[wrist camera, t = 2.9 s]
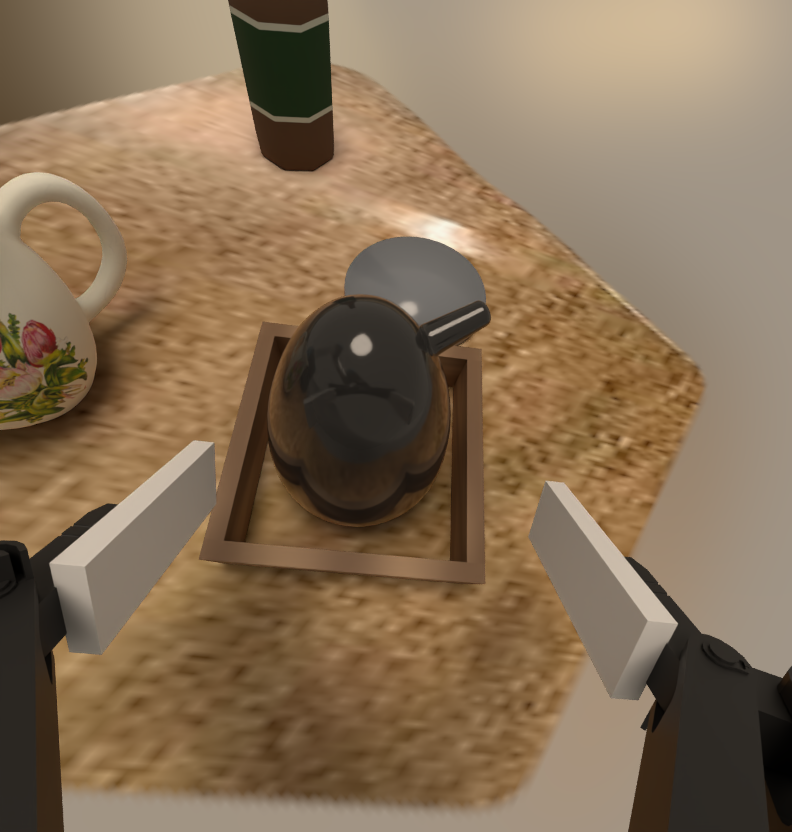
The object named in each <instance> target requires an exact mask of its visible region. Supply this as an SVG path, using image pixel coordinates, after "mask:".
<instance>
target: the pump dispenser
mask: <svg viewBox="0 0 792 832" xmlns="http://www.w3.org/2000/svg"><path fill="white" fill-rule="evenodd" d="M490 321H491V314H490V311H489V309H488V307H487V305H486V304H485V303H484V302H482V301H480V300H478V301H475V302H473V303H470V304H468V305H466V306H463V307H461V308H459V309H456V310H454V311H452V312H449V313H447V314H445V315H442V316H440V317H438V318H435V319H433V320H431V321H428V322H426V323H423V324H418V323H417V322H416V321H415V320H414V318H413V317H412V316H411V315H410V314H409V313H407V312H406V311H405V310H404V309H403V308H401V307H400V306H398V305H397V304H395V303H394V302H392V301H390V300H388V299H385V298H383V297H379V296H375V295H368V294H355V295H348V296H343V297H340V298H337V299H334V300H332V301H330V302H328V303H326V304H324V305H323V306H321V307H319V308H318V309H317V310H315V311H314V312H313V313H312V314H311V315H309V316H308V317H307V318H306V319H305V320H304V321H303V322H302V323H301V325H300V326H299V327H298V328H297V330H296V331H295V332H294V334H293V335H292V337H291V338H290V340H289V342H288V344H287V345H286V347H285V349H284V352H283V354H282V356H281V358H280V361H279V363H278V366H277V369H276V371H275V375H274V378H273V381H272V385H271V389H270V394H269V400H268V408H267V433H268V441H269V447H270V452H271V457H272V460H273V464H274V467H275V469H276V472H277V474H278V476H279V478H280V480H281V482H282V484H283V485H284V487H285V488H286V490H287V491H288V493H289V494H290V495H291V496H292V497H293V499H294V500H295V501H296V502H297V503H298V504H299V505H301V506H302V507H303V508H304V509H306V510H307V511H308V512H310V513H311V514H313V515H315V516H317V517H319V518H321V519H323V520H325V521H328V522H331V523H334V524H338V525H344V526H354V527H362V526H372V525H377V524H381V523H384V522H387V521H390V520H392V519H395V518H397V517H399V516H401V515H402V514H404V513H406V512H407V511H408V510H410V509H411V508H412V507H414V506H415V505H416V504H417V503H418V502H419V501H420V500H421V499H422V498H423V497H424V496H425V494H426V493H427V492H428V491H429V489H430V488H431V486H432V485H433V483H434V481H435V479H436V478H437V475H438V473H439V471H440V469H441V466H442V463H443V460H444V456H445V452H446V448H447V444H448V439H449V432H450V417H451V413H450V397H449V390H448V384H447V380H446V376H445V373H444V369H443V366H442V364H441V361H440V359H439V357H438V356H439V355H440V354H441V353H443V352H444V351H446V350H448V349H449V348H451V347H453V346H454V345H456V344H458V343H459V342H461V341H463V340H464V339H466V338H467V337H469V336H471V335H472V334H474V333H476V332H477V331H479V330H481V329H482V328H484V327H486V326H487V325H488V324H489V323H490Z"/></svg>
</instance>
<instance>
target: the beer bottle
mask: <svg viewBox="0 0 792 832" xmlns="http://www.w3.org/2000/svg"><path fill="white" fill-rule="evenodd" d="M228 1H229V7H230V11H231V17H232V21H233V26H234V31H235V35H236V40H237V45H238V49H239V54H240V59H241V64H242V68H243V73H244V78H245V82H246V87H247V92H248V96H249V101H250V106H251V110H252V115H253V120H254V124H255V129H256V134H257V137H258V141H259V145H260V149H261V152H262V154H263V155H264V156H265V157H266V158H268V159H269V160H271V161H272V162H274V163H275V164H276V165H278V166H279V167H281V168H282V169H284V170H308V171H313V170H315V169H316V168H318V167H319V166H321V165H322V164H324V163H326V162H327V161H329V160H330V159H332V157H333V152H334V133H333V110H332V86H331V63H330V41H329V40H330V39H329V17H328V2H327V0H228Z"/></svg>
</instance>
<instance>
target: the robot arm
mask: <svg viewBox="0 0 792 832" xmlns="http://www.w3.org/2000/svg"><path fill="white" fill-rule="evenodd" d="M215 505H216V476H215V449H214V443H213V442H204V441H195V440H194V441H193V442H191V443H190V444H189V445H188V446H187V447H186V448H184V449H183V450H182V451H181V452H180V453H178V454H177V455H176V456H175V457H174V458H173V459H171V460H170V461H169V462H168V463H167V464H166V465H164V466H163V467H162V468H161V469H160V470H158V471H157V472H156V473H155V474H154V475H153V476H151V477H150V478H149V479H148V480H147V481H145V482H144V483H143V484H142V485H141V486H140V487H138V488H137V489H136V490H135V491H134V492H133V493H131V494H130V495H129V496H128V497H127V498H125V499H124V500H123V501H122V502H121V503H120V504H105V505H103V506H101V507H99V508H97V509H95V510H93V511H91V512H88V513H87V514H86V515H85V516H83V517H82V518H81V519H80V520H78V521H77V522H76V523H74V526H71V527H69V528H68V529H67V530H66V531H64V532H63V533H62V535H61V536H58V537H57V538H55V539H54V540H53V541H52V542H50V543H49V544H48V545H47V546H45V547H44V548H43V549H42V550H40V551H39V552H38V553H37V554H35V555H34V556H33V557H31V558H30V559H29V555H28V551H27V548H26V546H25V545H24V544H23V543H20V542H18V541H0V832H64V825H63V806H62V787H61V769H60V751H59V733H58V714H57V696H56V678H55V660H54V655H53V651H52V649H53V648H54V647H55V646H56V645H57V644H58V643H59V641H60V640H61V639H62V638H63V637H64V636H65V635H66V639H67V643H68V648H69V652H75V653H87V654H99V655H102V653H103V652H104V651H105V650H106V648H107V647H108V646H109V644H110V643H111V642H112V640H113V639H114V638H115V636H116V635H117V634H118V632H119V631H120V630H121V628H122V627H123V626H124V625H125V623H126V622H127V621H128V619H129V618H130V617H131V615H132V614H133V613H134V611H135V610H136V609H137V607H138V606H139V605H140V603H141V602H142V601H143V600H144V598H145V597H146V596H147V594H148V593H149V592H150V590H151V589H152V588H153V586H154V585H155V584H156V582H157V581H158V580H159V579H160V577H161V576H162V575H163V573H164V572H165V571H166V569H167V568H168V567H169V565H170V564H171V563H172V561H173V560H174V559H175V557H176V556H177V555H178V554H179V552H180V551H181V550H182V548H183V547H184V546H185V544H186V543H187V542H188V540H189V539H190V538H191V536H192V535H193V534H194V532H195V531H196V530H197V529H198V527H199V526H200V525H201V523H202V522H203V521H204V519H205V518H206V517H207V515H208V514H209V513H210V511H211V510H212V509H213V507H214V506H215ZM529 539H530V541H531V543H532V545H533V547H534V549H535V551H536V553H537V555H538V557H539V559H540V560H541V562H542V564H543V566H544V568H545V570H546V572H547V574H548V576H549V578H550V580H551V582H552V584H553V586H554V588H555V590H556V592H557V594H558V596H559V598H560V600H561V602H562V604H563V606H564V608H565V609H566V611H567V613H568V615H569V617H570V619H571V621H572V623H573V625H574V627H575V629H576V631H577V633H578V635H579V637H580V639H581V641H582V643H583V645H584V647H585V649H586V651H587V653H588V655H589V657H590V658H591V660H592V662H593V664H594V666H595V668H596V670H597V672H598V674H599V676H600V678H601V680H602V682H603V684H604V686H605V688H606V690H607V692H608V694H609V696H610V698H617V699H629V700H639V698H640V696H641V694H642V692H643V690H644V688H645V686H646V684H647V685H648V687H649V688H650V690H651V692H652V693H653V695H654V697H655V698H656V700H655V702H654V704H653V706H652V707H651V709H650V711H649V713H648V715H647V716H646V718H645V720H644V722H643V724H642V725H641V728H642V729H643V730H646V729H647V732H646V737H645V743H644V748H643V754H642V759H641V765H640V770H639V776H638V781H637V786H636V792H635V797H634V803H633V809H632V814H631V819H630V825H629V830H628V832H792V666H791V667H790V669H789V670H788V671H787V673H786V674H785V676H784V677H783V678H781V677H777V676H775V675H772V674H769V673H766V672H763V671H760V670H757V669H755V668H752V667H751V666H750V664H749V663H748V662H747V661H746V659H745V658H744V657H743V656H742V655H740V653H738V652H737V651H736V650H735V649H733V648H732V647H731V646H729V645H728V644H726V643H724V642H723V641H721V640H719V639H717V638H714V637H712V636H710V635H706V634H701V632H700V631H699V630H698V629H697V628H696V626H694V624H693V623H692V622H691V621H690V620H689V618H688V617H687V616H686V615H685V614H684V612H683V611H682V610H681V609H680V608H679V607H678V606H677V604H676V603H675V602H674V601H673V599H672V598H671V597H670V596H667V593H666V591H665V590H664V589H663V588H662V587H661V586H660V585H658V582H657V581H656V580H655V578H654V577H653V576H652V575H651V574H650V572H649V571H648V570H647V569H646V568H644V567H643V566H642V565H640V564H639V563H638V562H636V561H635V560H634V559H633V558H631V557H624V556H623V555H622V554H621V553H620V551H619V550H618V549H617V548H616V546H615V545H614V544H613V543H612V542H611V540H610V539H609V538H608V537H607V535H606V534H605V533H604V532H603V530H602V529H601V528H600V527H599V525H598V524H597V523H596V522H595V521H594V519H593V518H592V517H591V516H590V514H589V513H588V512H587V511H586V509H585V508H584V507H583V506H582V504H581V503H580V502H579V501H578V499H577V498H576V497H575V496H574V495H573V493H572V492H571V491H570V490H569V488H568V487H567V486H566V485H565V483H561V482H552V481H545V484H544V488H543V491H542V494H541V497H540V501H539V504H538V507H537V510H536V514H535V517H534V520H533V524H532V527H531V530H530V533H529Z"/></svg>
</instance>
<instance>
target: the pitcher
mask: <svg viewBox="0 0 792 832" xmlns="http://www.w3.org/2000/svg"><path fill="white" fill-rule="evenodd" d="M45 202H61V203H64V204H67V205H69V206H71V207H73V208H75V209H77V210H78V211H80V212H81V213H82V214H83V215H84V216H85V217H86V218H87V219H88V220H89V222H90V223H91V224H92V226H93V227H94V228H95V230H96V232H97V234H98V236H99V238H100V241H101V245H102V252H103V257H102V262H101V265H100V268H99V271H98V274H97V276H96V278H95V280H94V282H93V283H92V285H91V286H90V287H89V288H88V289H87V290H86V291H85V292H84V293H83V294H82V295H81V296H80V297H78V298H76V299H75V298H74V296H73V294H72V293H71V291H70V290H69V288H68V287H67V286H66V284H65V283H64V282H63V281H62V279H61V278H60V277H59V276H58V275H57V273H56V272H55V271H54V270H53V269H52V268H51V267H50V266H49V265H48V264H47V263H46V262H45V261H44V260H43V259H42V258H41V257H40V256H39V255H38V254H37V253H36V252H35V251H33V250H32V249H31V248H30V247H29V246H27V245H26V244H25V243H24V242H23V241H22V239H21V238H20V232H21V223H22V221H23V219H24V218H25V216H26V215H27V214H28V212H29V211H30V210H31V209H33V208H34V207H36V206H37V205H39V204H42V203H45ZM126 264H127V252H126V247H125V243H124V240H123V237H122V235H121V233H120V231H119V229H118V227H117V225H116V224H115V222H114V221H113V219H112V218H111V217H110V215H109V214H108V212H107V211H106V210H105V209H104V208H103V207H102V206H101V205H100V204H99V202H98V201H97V200H96V199H95V198H93V197H92V196H91V195H90V194H88V193H87V192H86V191H85V190H83V189H82V188H81V187H79V186H78V185H76V184H74V183H72V182H70V181H69V180H67V179H65V178H62V177H59V176H56V175H53V174H48V173H39V172H35V173H28V174H23V175H20V176H18V177H16V178H14V179H12V180H10V181H9V182H8V183H6V184H5V185H3V186H2V188H1V189H0V430H5V429H15V428H22V427H27V426H31V425H35V424H38V423H42V422H46V421H49V420H52V419H55V418H57V417H59V416H61V415H63V414H65V413H66V412H68V411H70V410H71V409H72V408H74V407H75V406H76V405H77V404H78V403H79V402H80V401H81V400H82V399H83V398H84V397H85V396H86V394H87V393H88V391H89V390H90V388H91V386H92V384H93V380H94V376H95V371H96V366H97V351H96V345H95V340H94V337H93V333H92V331H91V328H90V326H89V323H90V321H91V320H92V319H93V318H94V317H96V316H97V315H98V314H99V313H100V312H101V311H102V310H103V309H104V308H105V307H106V306H107V305H108V304H109V302H110V301H111V300H112V299H113V298H114V296H115V295H116V293H117V291H118V290H119V288H120V286H121V283H122V281H123V278H124V274H125V271H126Z"/></svg>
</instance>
